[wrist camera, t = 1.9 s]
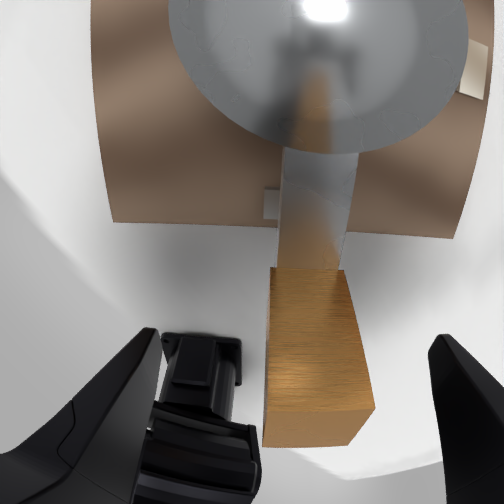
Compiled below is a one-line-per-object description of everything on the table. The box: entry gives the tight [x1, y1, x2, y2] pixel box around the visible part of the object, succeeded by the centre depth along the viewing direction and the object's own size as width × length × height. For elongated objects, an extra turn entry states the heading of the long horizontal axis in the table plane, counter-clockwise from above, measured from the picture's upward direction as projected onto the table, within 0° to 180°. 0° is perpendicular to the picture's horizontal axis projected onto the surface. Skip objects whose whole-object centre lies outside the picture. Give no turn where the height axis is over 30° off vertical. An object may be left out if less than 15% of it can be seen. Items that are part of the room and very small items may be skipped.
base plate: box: [91, 0, 494, 239], centre depth 10 cm, size 20×20×4 cm
